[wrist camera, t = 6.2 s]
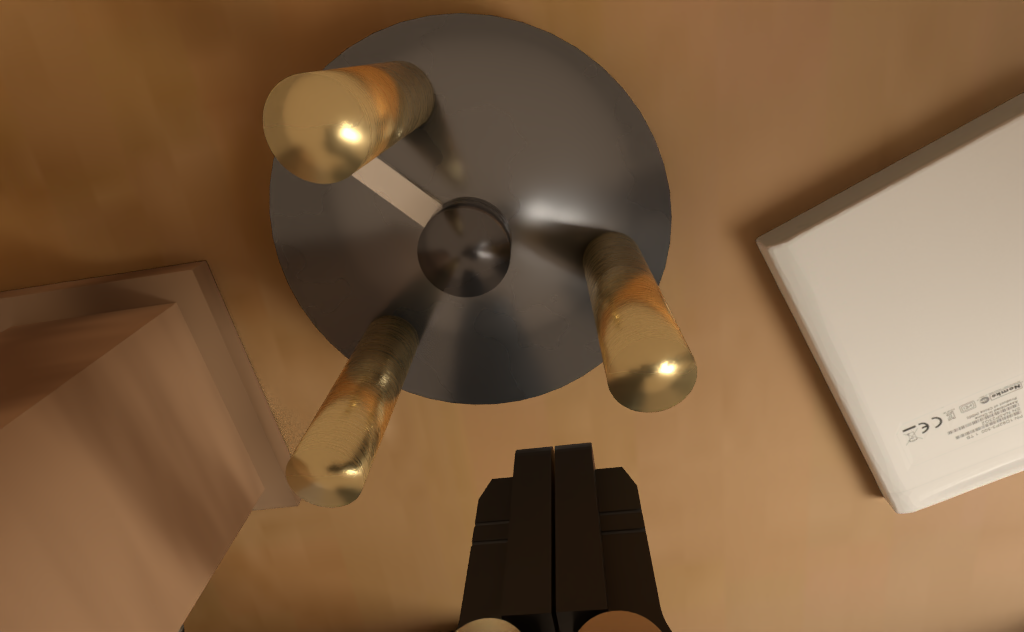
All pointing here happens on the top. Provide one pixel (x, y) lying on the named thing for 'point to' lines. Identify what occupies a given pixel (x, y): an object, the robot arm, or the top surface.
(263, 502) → the brown angular box
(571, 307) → the three-bulb candle holder
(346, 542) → the top surface
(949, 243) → the external hard drive
